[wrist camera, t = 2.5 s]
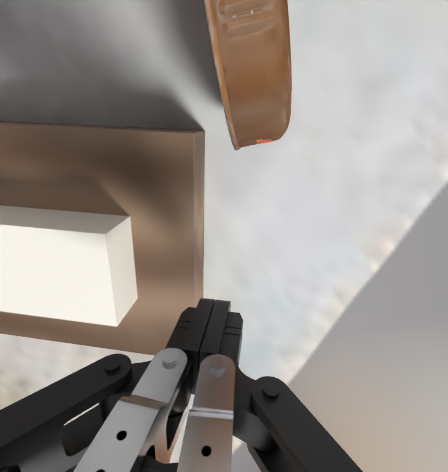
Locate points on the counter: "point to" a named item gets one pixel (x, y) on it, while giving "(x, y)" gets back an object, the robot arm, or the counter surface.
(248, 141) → the tin
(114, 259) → the cream block
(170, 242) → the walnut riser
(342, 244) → the counter surface
